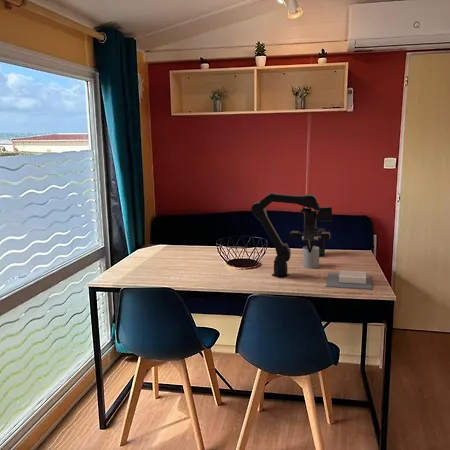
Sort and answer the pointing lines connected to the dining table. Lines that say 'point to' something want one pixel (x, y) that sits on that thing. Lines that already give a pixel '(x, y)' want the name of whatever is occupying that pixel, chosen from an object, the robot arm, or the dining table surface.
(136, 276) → the dining table surface
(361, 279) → the cream flat block
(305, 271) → the dining table surface
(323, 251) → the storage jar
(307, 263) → the cup
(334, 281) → the mat
